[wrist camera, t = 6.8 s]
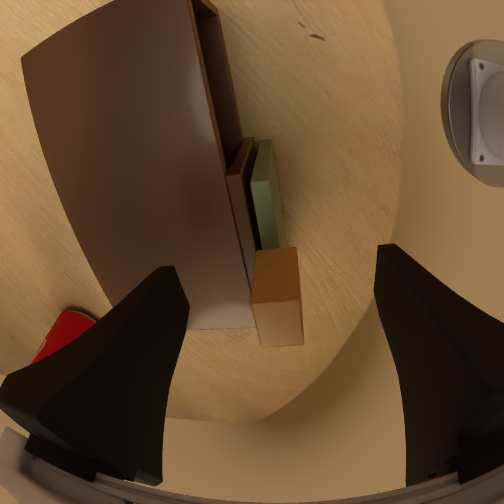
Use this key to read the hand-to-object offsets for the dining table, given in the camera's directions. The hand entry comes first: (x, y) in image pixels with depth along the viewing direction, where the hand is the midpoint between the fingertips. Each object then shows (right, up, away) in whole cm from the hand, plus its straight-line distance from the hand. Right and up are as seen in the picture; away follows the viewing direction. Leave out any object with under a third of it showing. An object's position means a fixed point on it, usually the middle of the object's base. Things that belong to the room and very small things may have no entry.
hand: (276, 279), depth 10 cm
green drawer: (+1, +4, +8) cm, 8 cm away
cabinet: (-5, +7, +6) cm, 11 cm away
